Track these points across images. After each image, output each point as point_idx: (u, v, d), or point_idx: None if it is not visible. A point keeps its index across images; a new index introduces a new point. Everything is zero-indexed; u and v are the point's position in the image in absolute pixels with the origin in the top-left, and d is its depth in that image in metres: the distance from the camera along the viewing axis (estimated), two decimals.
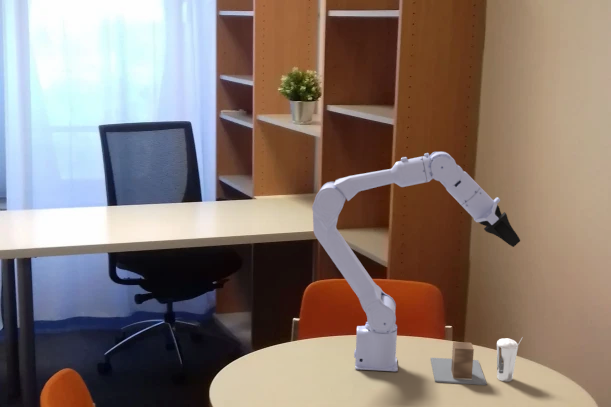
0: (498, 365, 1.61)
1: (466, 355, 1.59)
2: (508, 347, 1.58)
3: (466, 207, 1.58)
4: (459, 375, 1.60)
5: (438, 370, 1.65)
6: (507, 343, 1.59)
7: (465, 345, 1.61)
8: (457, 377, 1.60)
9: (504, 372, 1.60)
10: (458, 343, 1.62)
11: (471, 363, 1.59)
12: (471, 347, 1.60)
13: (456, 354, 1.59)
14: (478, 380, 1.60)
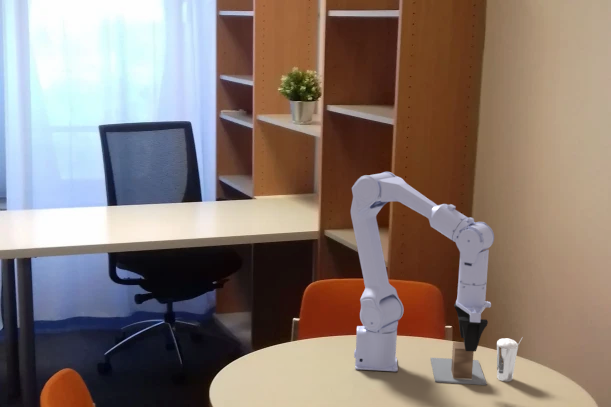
0: (498, 365, 1.61)
1: (466, 355, 1.59)
2: (508, 347, 1.58)
3: (461, 288, 1.50)
4: (459, 375, 1.60)
5: (438, 370, 1.65)
6: (507, 343, 1.59)
7: None
8: (457, 377, 1.60)
9: (504, 372, 1.60)
10: (458, 343, 1.62)
11: (471, 363, 1.59)
12: None
13: (456, 354, 1.59)
14: (478, 380, 1.60)
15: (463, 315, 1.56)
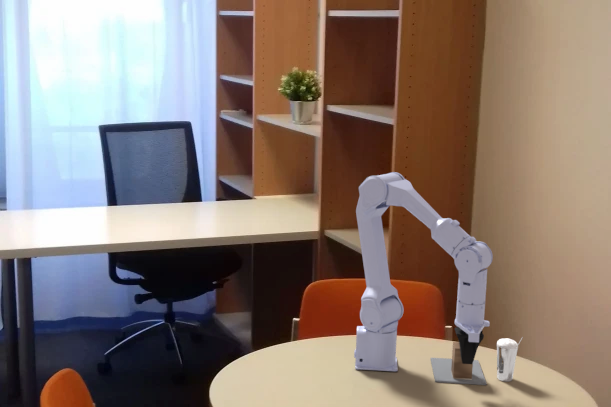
0: (498, 365, 1.61)
1: None
2: (508, 347, 1.58)
3: (460, 307, 1.51)
4: (459, 375, 1.60)
5: (438, 370, 1.65)
6: (507, 343, 1.59)
7: None
8: (457, 377, 1.60)
9: (504, 372, 1.60)
10: (458, 343, 1.62)
11: None
12: None
13: (456, 354, 1.59)
14: (478, 380, 1.60)
15: None
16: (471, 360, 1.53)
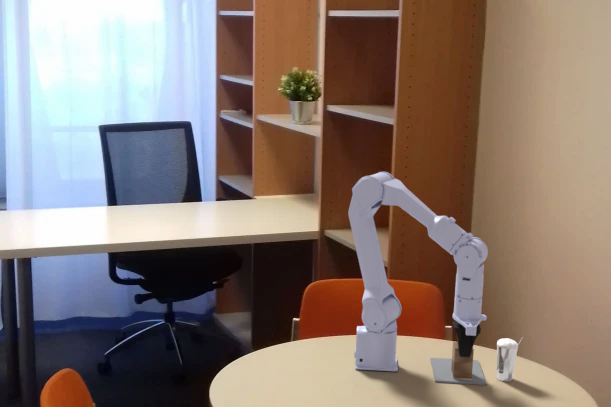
0: (498, 365, 1.61)
1: None
2: (508, 347, 1.58)
3: (458, 301, 1.55)
4: (459, 375, 1.60)
5: (438, 370, 1.65)
6: (507, 343, 1.59)
7: None
8: (457, 377, 1.60)
9: (504, 372, 1.60)
10: None
11: (471, 363, 1.59)
12: None
13: (456, 354, 1.59)
14: (478, 380, 1.60)
15: None
16: (468, 353, 1.57)
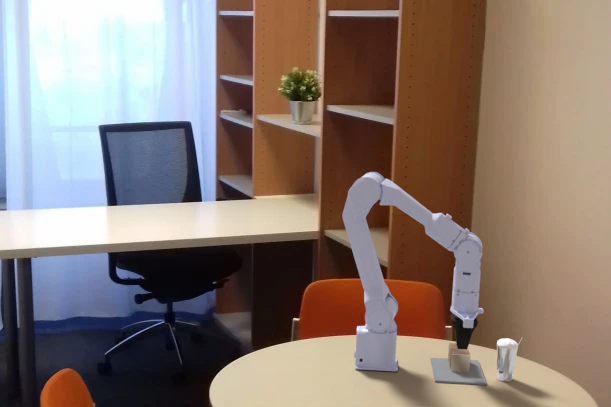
0: (498, 365, 1.61)
1: None
2: (508, 347, 1.58)
3: (455, 295, 1.59)
4: (457, 353, 1.64)
5: (438, 370, 1.65)
6: (507, 343, 1.59)
7: None
8: (456, 354, 1.64)
9: (504, 372, 1.60)
10: None
11: (467, 349, 1.67)
12: None
13: (451, 345, 1.69)
14: (478, 380, 1.60)
15: None
16: (466, 345, 1.62)
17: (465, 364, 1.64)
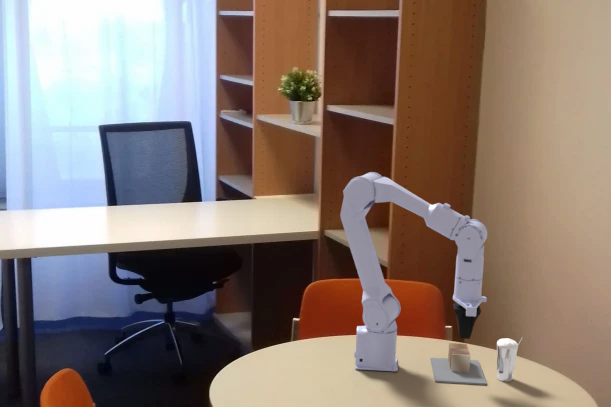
0: (498, 365, 1.61)
1: (460, 346, 1.69)
2: (508, 347, 1.58)
3: (458, 283, 1.55)
4: (457, 353, 1.64)
5: (438, 370, 1.65)
6: (507, 343, 1.59)
7: None
8: (456, 354, 1.64)
9: (504, 372, 1.60)
10: None
11: (467, 349, 1.67)
12: None
13: (451, 345, 1.69)
14: (478, 380, 1.60)
15: None
16: (468, 335, 1.58)
17: (465, 364, 1.64)
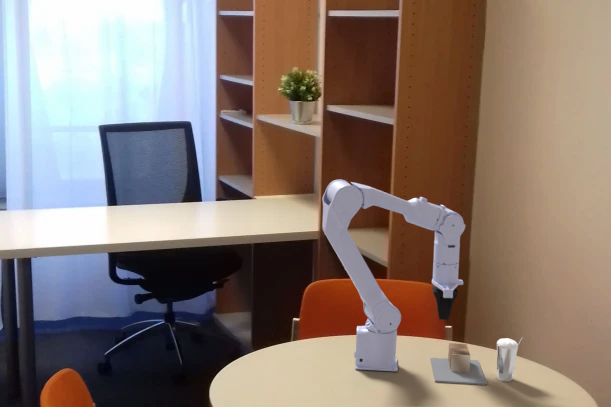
0: (498, 365, 1.61)
1: (460, 346, 1.69)
2: (508, 347, 1.58)
3: (436, 267, 1.66)
4: (457, 353, 1.64)
5: (438, 370, 1.65)
6: (507, 343, 1.59)
7: None
8: (456, 354, 1.64)
9: (504, 372, 1.60)
10: None
11: (467, 349, 1.67)
12: None
13: (451, 345, 1.69)
14: (478, 380, 1.60)
15: None
16: (447, 316, 1.68)
17: (465, 364, 1.64)
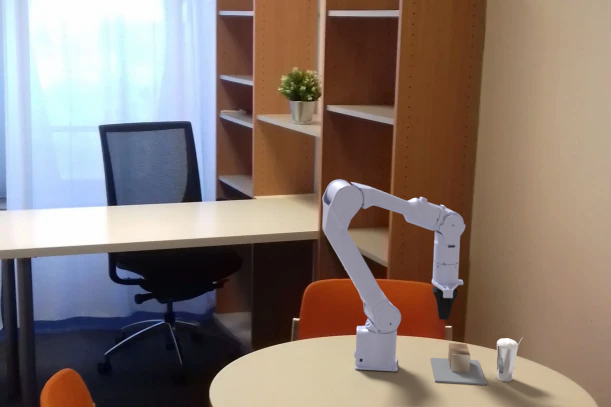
0: (498, 365, 1.61)
1: (460, 346, 1.69)
2: (508, 347, 1.58)
3: (436, 267, 1.66)
4: (457, 353, 1.64)
5: (438, 370, 1.65)
6: (507, 343, 1.59)
7: None
8: (456, 354, 1.64)
9: (504, 372, 1.60)
10: None
11: (467, 349, 1.67)
12: None
13: (451, 345, 1.69)
14: (478, 380, 1.60)
15: None
16: (447, 316, 1.68)
17: (465, 364, 1.64)
